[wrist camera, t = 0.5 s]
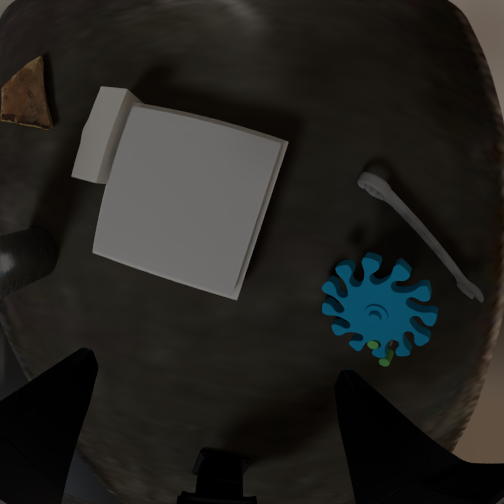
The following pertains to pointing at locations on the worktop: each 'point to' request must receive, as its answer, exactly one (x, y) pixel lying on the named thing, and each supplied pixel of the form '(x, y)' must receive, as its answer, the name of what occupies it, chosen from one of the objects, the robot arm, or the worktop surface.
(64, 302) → the worktop surface
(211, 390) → the worktop surface
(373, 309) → the gear
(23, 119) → the shard
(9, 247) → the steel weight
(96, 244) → the kitchen scale
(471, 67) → the worktop surface
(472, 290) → the combination wrench
